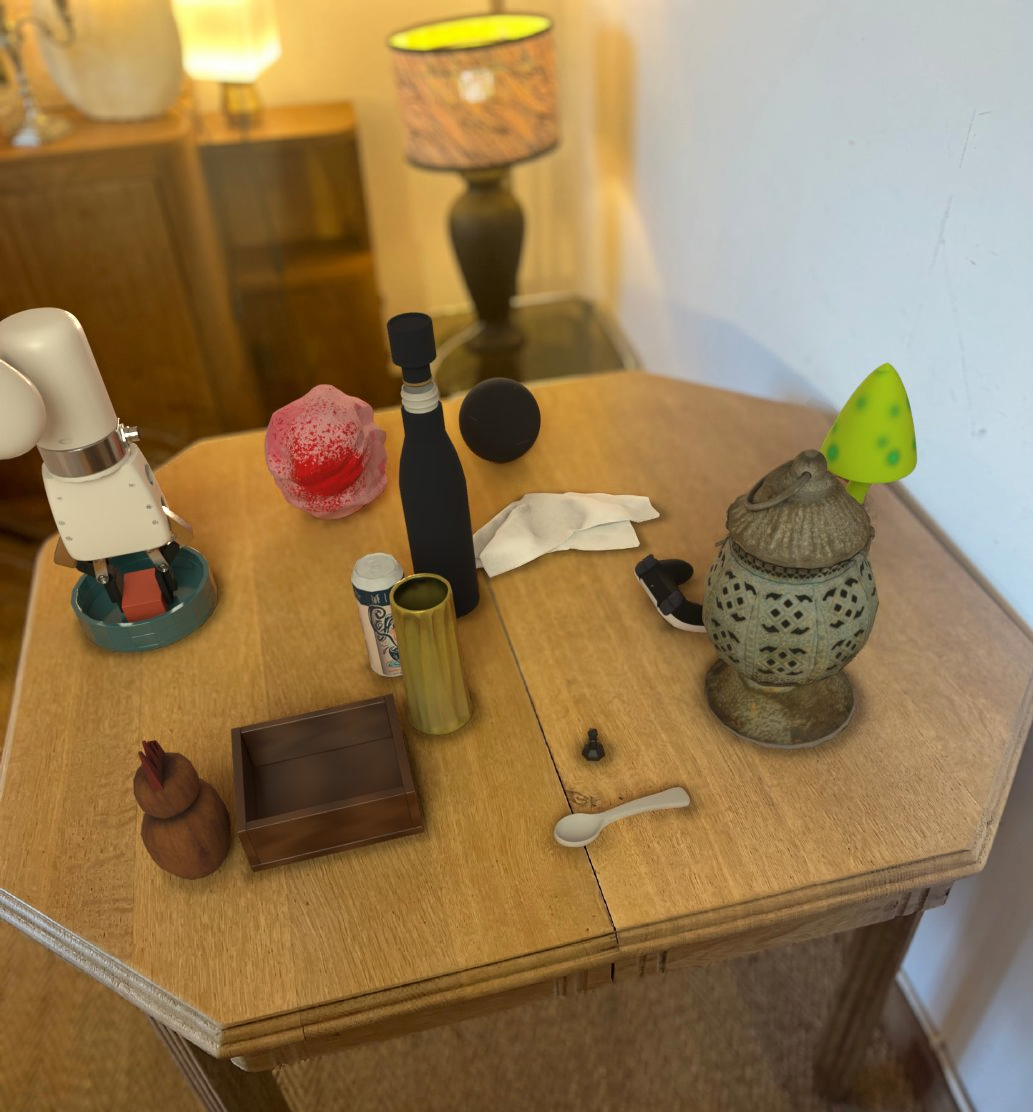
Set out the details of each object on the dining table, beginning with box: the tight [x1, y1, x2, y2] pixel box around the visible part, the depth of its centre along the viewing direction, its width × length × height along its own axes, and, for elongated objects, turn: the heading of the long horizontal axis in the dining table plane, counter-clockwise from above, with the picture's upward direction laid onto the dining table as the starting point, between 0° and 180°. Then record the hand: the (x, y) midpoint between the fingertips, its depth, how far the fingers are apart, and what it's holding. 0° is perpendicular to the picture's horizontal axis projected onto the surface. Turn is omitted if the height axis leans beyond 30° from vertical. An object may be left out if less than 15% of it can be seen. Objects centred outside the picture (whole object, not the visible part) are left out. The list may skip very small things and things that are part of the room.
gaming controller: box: [633, 553, 707, 634], centre depth 98 cm, size 11×4×7 cm
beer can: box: [350, 552, 406, 678], centre depth 92 cm, size 5×5×12 cm
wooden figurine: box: [132, 739, 231, 881], centre depth 75 cm, size 7×6×15 cm
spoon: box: [553, 786, 691, 848], centre depth 80 cm, size 3×12×2 cm, turn 111°
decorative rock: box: [264, 383, 389, 520], centre depth 112 cm, size 19×14×15 cm
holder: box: [230, 693, 425, 873], centre depth 82 cm, size 14×12×5 cm
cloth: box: [472, 491, 661, 579], centre depth 110 cm, size 26×14×2 cm, turn 102°
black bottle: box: [386, 311, 481, 619], centre depth 92 cm, size 6×6×30 cm
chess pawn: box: [581, 727, 606, 762], centre depth 85 cm, size 2×2×3 cm
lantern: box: [702, 449, 880, 750], centre depth 81 cm, size 14×14×25 cm
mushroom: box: [819, 362, 918, 506], centre depth 91 cm, size 8×8×25 cm
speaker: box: [458, 377, 542, 464], centre depth 119 cm, size 10×10×10 cm
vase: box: [390, 573, 474, 736], centre depth 86 cm, size 6×6×14 cm
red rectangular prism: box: [122, 568, 168, 623], centre depth 104 cm, size 6×4×2 cm, turn 14°
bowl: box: [70, 545, 219, 653], centre depth 104 cm, size 14×14×4 cm
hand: (147, 598), depth 104 cm, fingers closed on red rectangular prism, 4 cm apart
